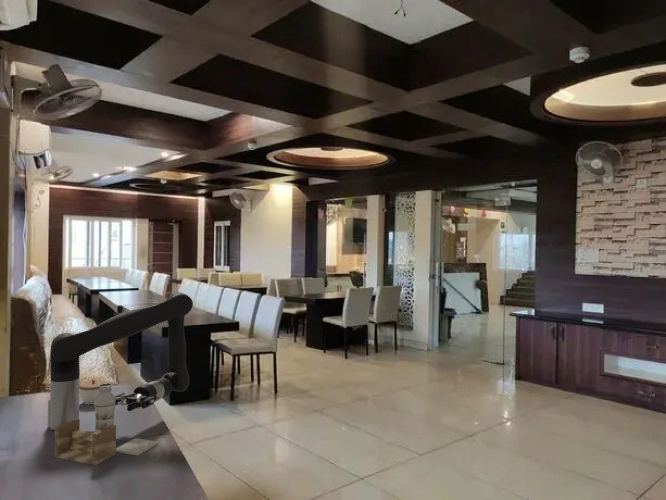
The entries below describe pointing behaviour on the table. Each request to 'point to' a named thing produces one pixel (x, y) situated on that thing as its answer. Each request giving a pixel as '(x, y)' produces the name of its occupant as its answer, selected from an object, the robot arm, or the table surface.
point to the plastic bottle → (104, 407)
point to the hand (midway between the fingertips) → (117, 406)
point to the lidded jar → (90, 390)
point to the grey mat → (136, 446)
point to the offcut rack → (84, 443)
